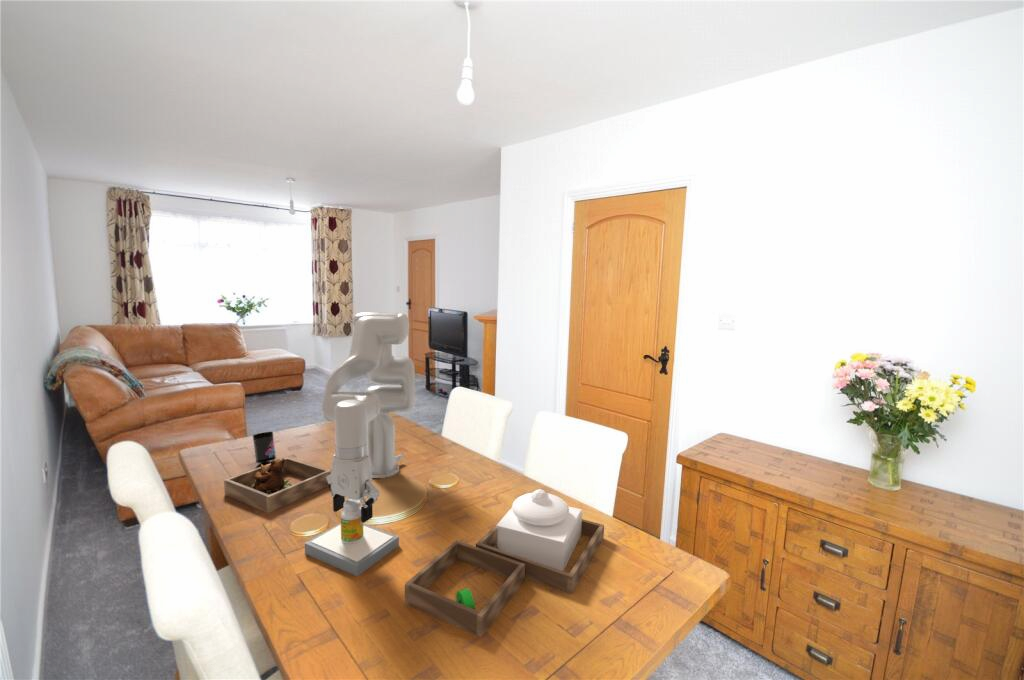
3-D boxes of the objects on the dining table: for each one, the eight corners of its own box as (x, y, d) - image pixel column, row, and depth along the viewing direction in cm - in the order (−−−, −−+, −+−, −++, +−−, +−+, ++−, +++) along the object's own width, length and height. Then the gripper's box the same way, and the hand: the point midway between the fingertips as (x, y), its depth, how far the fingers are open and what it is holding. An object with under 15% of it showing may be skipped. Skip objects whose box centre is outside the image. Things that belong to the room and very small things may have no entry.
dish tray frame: (520, 518, 132) (521, 502, 132) (603, 542, 121) (604, 525, 120) (475, 563, 110) (475, 544, 110) (571, 598, 99) (572, 577, 98)
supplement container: (263, 461, 160) (259, 432, 162) (251, 465, 163) (248, 436, 165) (280, 458, 166) (277, 430, 168) (269, 462, 169) (265, 434, 171)
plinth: (349, 528, 124) (348, 517, 124) (398, 547, 116) (398, 536, 115) (304, 554, 112) (304, 542, 111) (357, 577, 103) (357, 565, 103)
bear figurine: (286, 479, 154) (285, 445, 152) (298, 495, 142) (297, 459, 141) (240, 490, 145) (238, 454, 143) (249, 508, 133) (248, 469, 132)
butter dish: (580, 538, 123) (583, 483, 121) (562, 577, 106) (565, 514, 104) (521, 524, 129) (523, 471, 127) (495, 558, 113) (497, 498, 111)
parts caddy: (456, 558, 112) (456, 540, 111) (524, 584, 103) (525, 564, 102) (404, 605, 95) (404, 583, 94) (481, 640, 86) (481, 617, 86)
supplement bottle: (338, 544, 111) (337, 507, 109) (344, 532, 116) (343, 497, 115) (360, 544, 111) (360, 507, 110) (365, 532, 116) (365, 497, 115)
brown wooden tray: (288, 470, 160) (287, 457, 159) (330, 484, 150) (330, 470, 149) (224, 495, 141) (224, 479, 140) (269, 513, 131) (268, 497, 130)
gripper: (314, 447, 111) (316, 511, 114) (365, 463, 103) (366, 531, 106) (339, 438, 118) (340, 499, 120) (388, 452, 110) (389, 517, 112)
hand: (352, 514), depth 113 cm, fingers open, 9 cm apart
